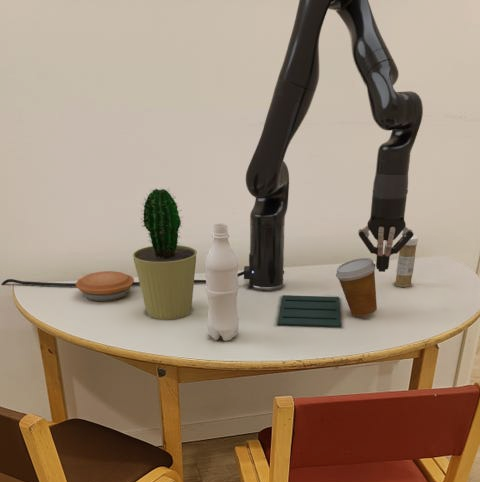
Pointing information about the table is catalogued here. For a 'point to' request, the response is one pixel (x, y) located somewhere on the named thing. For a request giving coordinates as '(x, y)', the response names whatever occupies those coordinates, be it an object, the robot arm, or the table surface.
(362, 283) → the disposable coffee cup
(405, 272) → the sprinkles bottle
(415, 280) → the table surface
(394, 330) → the table surface
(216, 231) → the water bottle
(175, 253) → the potted cactus
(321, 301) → the mat
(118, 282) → the pie
